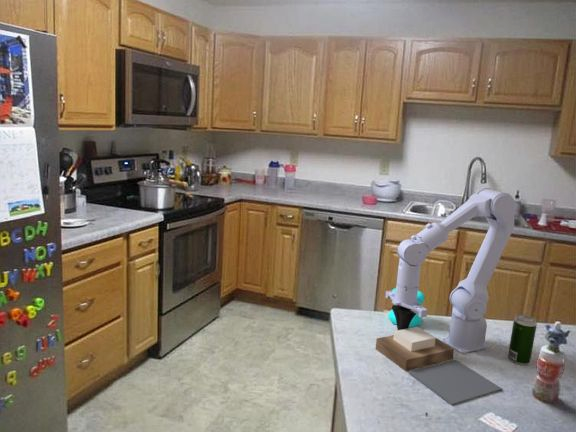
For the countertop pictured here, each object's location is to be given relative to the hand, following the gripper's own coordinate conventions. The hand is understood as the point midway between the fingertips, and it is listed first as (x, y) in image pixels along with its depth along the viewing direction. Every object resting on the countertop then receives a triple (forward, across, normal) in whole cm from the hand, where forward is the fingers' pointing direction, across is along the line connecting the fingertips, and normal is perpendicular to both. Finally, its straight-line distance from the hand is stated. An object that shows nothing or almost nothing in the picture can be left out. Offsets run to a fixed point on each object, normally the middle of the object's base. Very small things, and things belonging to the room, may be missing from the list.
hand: (402, 331), depth 125 cm
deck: (+4, +5, 0) cm, 7 cm away
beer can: (+4, +18, +24) cm, 31 cm away
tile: (+1, +5, 0) cm, 5 cm away
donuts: (+4, -12, +11) cm, 17 cm away
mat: (+4, +19, 0) cm, 20 cm away
